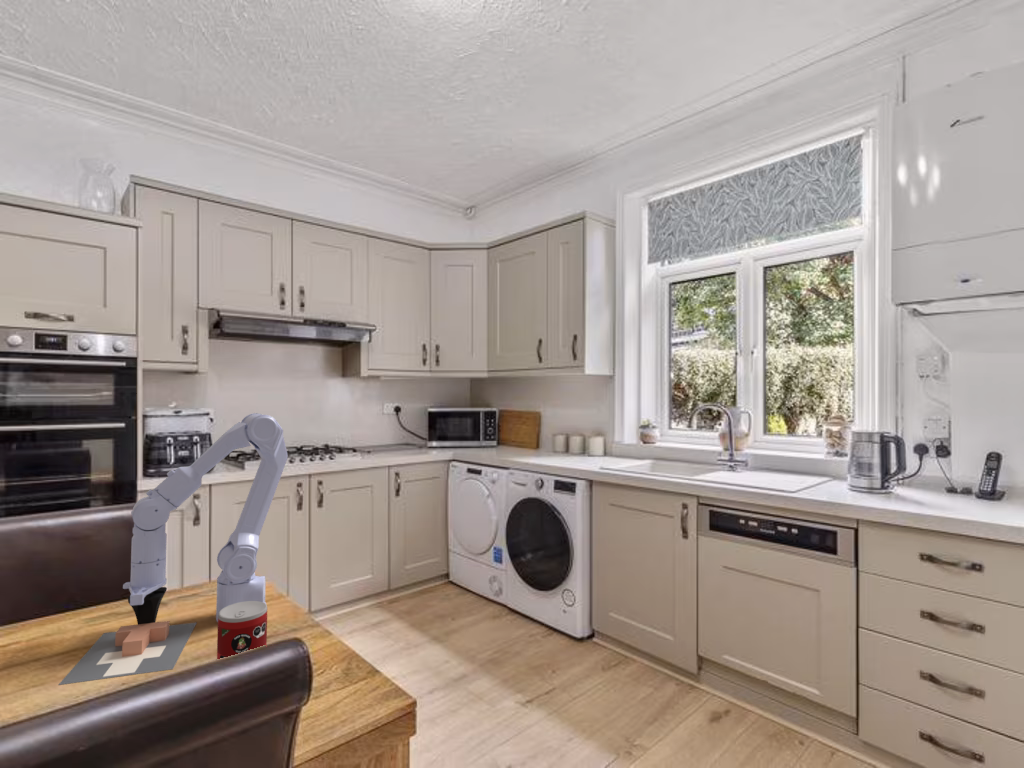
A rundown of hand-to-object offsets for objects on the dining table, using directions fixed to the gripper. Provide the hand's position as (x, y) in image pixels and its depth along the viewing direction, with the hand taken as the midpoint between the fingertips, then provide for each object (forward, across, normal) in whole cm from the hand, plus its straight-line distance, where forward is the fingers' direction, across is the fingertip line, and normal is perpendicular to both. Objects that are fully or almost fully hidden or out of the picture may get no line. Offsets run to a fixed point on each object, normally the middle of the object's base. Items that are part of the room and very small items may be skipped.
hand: (146, 629), depth 105 cm
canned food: (+2, +20, +19) cm, 27 cm away
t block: (+1, +5, 0) cm, 5 cm away
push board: (+2, +7, 0) cm, 7 cm away
